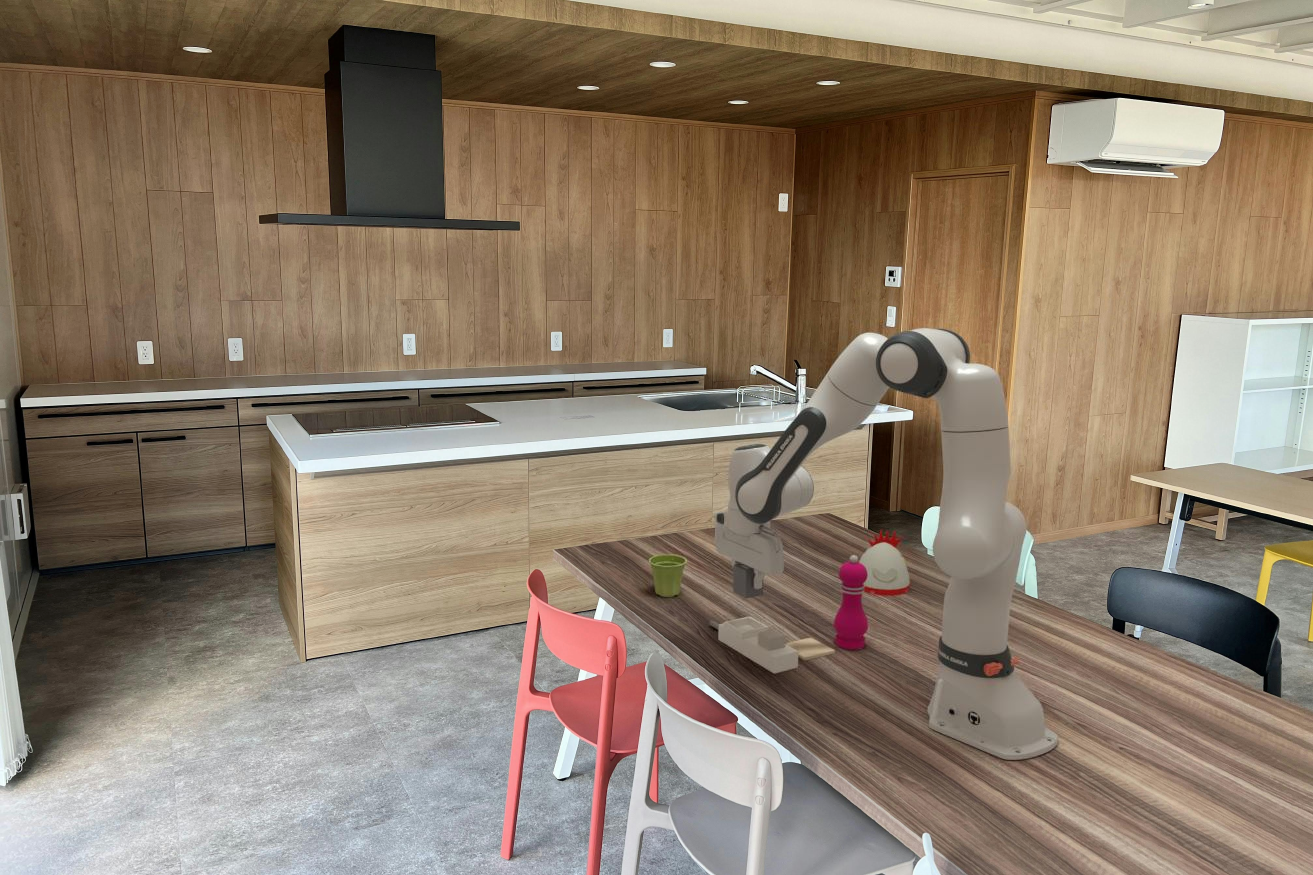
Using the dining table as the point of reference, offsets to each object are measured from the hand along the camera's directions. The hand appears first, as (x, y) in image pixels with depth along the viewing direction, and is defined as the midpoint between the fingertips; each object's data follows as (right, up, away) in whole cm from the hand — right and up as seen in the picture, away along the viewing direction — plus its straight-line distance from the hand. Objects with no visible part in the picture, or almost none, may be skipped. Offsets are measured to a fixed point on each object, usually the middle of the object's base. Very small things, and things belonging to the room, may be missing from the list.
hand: (748, 583), depth 194 cm
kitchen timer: (+38, -8, +42) cm, 57 cm away
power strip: (0, -14, +2) cm, 14 cm away
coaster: (+13, -14, +1) cm, 19 cm away
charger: (0, -2, 0) cm, 2 cm away
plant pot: (-17, -8, +35) cm, 40 cm away
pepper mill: (+22, -14, +4) cm, 27 cm away
